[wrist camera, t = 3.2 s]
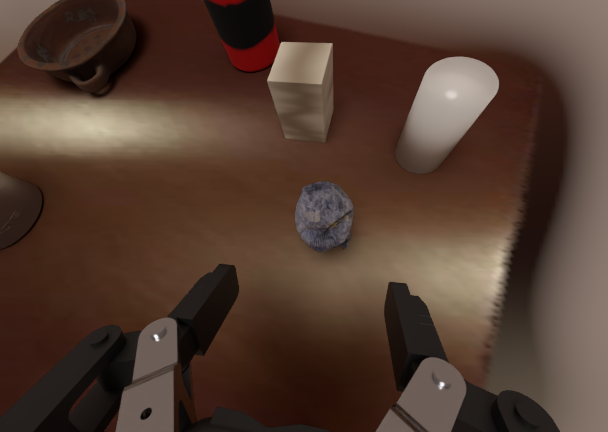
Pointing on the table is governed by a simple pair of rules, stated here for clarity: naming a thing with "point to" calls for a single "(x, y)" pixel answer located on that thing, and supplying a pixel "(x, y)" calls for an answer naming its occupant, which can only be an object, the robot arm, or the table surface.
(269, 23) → the soda can
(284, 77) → the birch block
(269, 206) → the table surface
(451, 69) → the ceramic cylinder
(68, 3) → the dish
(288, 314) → the table surface
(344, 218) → the fossil stone
